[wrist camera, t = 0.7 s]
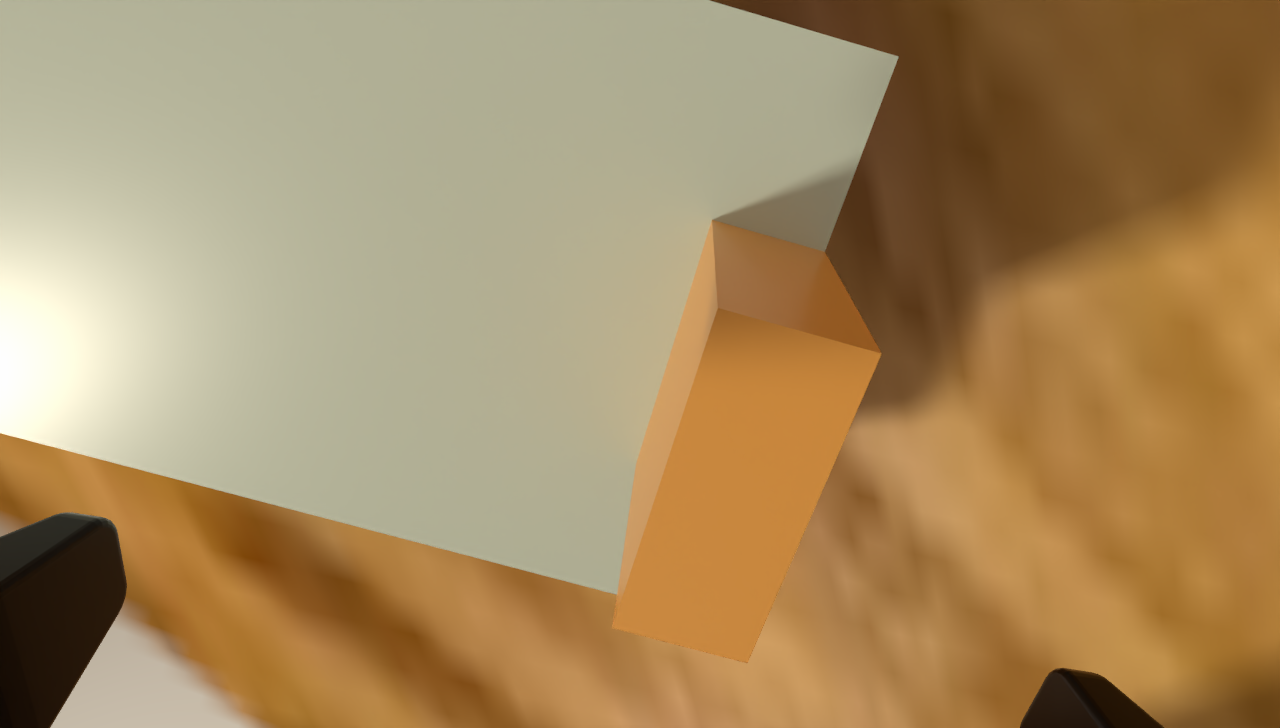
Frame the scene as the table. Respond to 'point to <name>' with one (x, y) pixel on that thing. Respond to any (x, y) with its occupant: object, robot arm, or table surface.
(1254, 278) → the table surface
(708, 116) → the lid
